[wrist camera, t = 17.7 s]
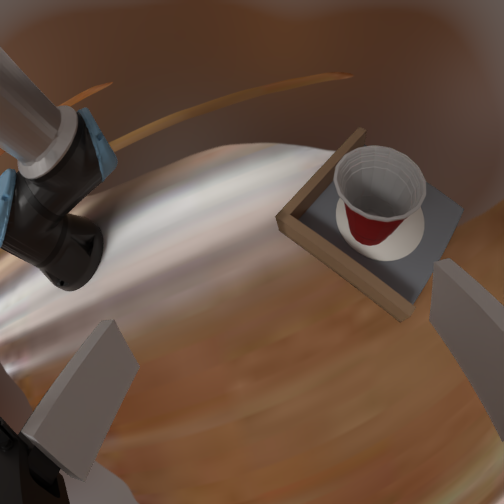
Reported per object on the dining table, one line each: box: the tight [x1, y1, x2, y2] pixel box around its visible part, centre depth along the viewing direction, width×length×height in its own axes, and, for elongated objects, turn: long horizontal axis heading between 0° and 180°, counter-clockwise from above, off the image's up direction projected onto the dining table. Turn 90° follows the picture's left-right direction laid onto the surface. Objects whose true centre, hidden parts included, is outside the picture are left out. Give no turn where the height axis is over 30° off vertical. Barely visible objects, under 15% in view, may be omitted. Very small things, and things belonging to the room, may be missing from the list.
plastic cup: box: [333, 145, 426, 246], centre depth 34 cm, size 11×11×12 cm
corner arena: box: [275, 127, 464, 322], centre depth 38 cm, size 22×22×4 cm
